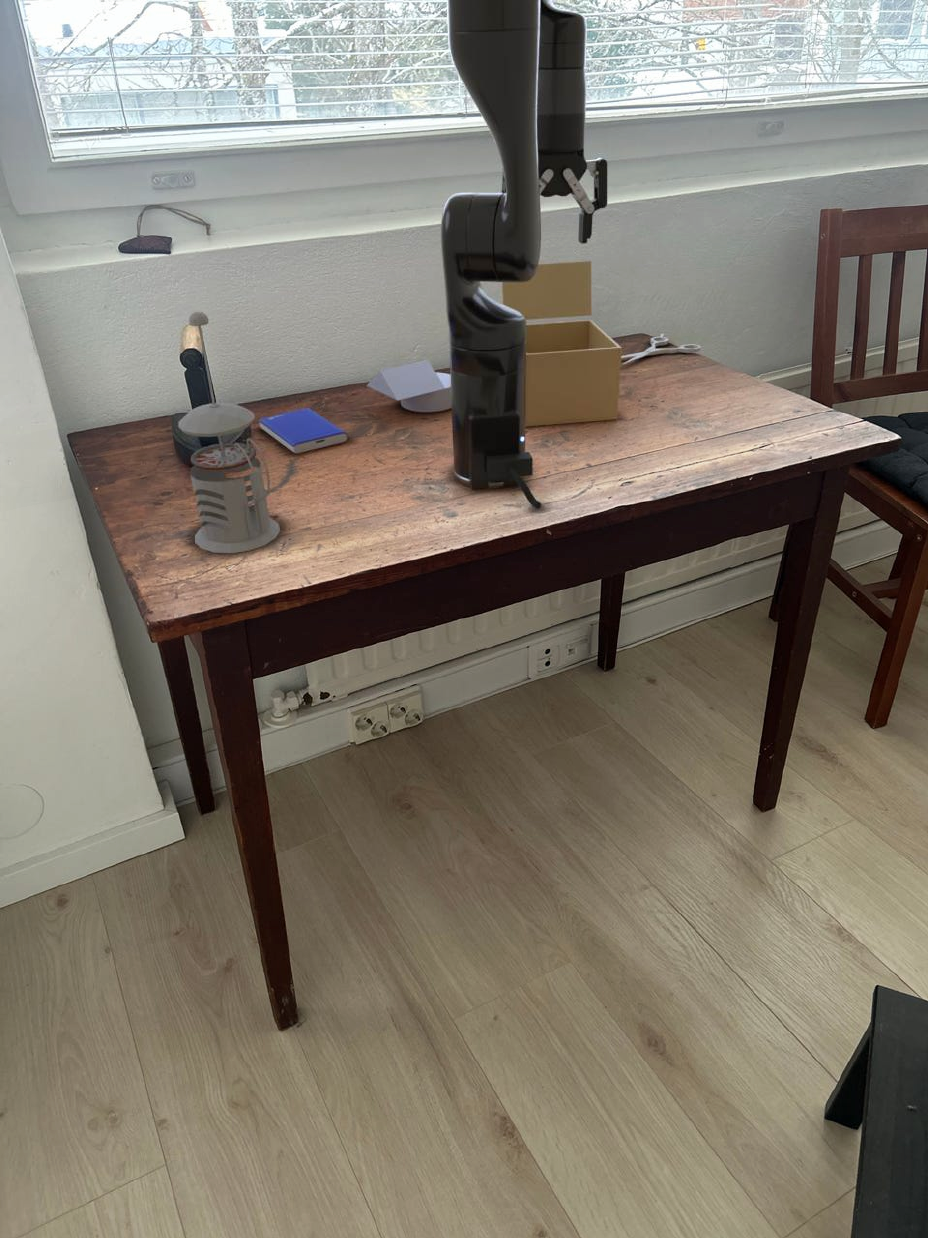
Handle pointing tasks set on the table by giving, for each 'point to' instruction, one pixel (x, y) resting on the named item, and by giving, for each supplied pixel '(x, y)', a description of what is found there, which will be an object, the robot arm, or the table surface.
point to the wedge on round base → (415, 386)
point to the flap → (552, 291)
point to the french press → (222, 497)
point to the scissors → (663, 341)
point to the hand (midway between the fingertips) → (552, 243)
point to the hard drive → (302, 430)
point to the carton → (571, 373)
